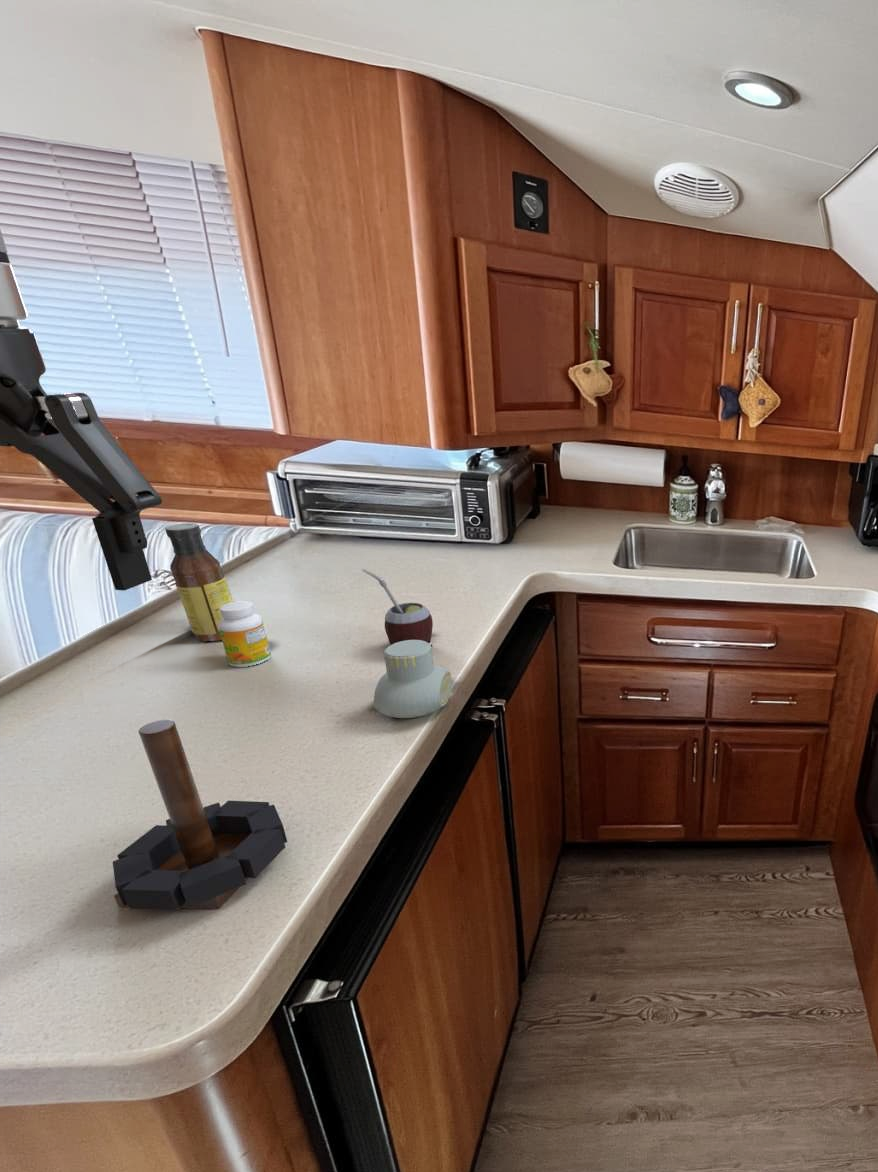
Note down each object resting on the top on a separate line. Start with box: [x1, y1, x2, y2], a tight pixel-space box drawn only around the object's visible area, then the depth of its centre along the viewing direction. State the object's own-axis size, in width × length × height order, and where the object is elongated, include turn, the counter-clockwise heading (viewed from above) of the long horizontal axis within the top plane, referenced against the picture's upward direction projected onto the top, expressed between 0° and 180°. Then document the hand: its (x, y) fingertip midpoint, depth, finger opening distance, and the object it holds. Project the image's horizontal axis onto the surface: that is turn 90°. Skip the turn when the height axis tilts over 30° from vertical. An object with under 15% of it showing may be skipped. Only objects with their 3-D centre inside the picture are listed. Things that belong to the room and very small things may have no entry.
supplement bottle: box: [218, 600, 272, 668], centre depth 101 cm, size 5×5×10 cm
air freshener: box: [373, 640, 452, 719], centre depth 93 cm, size 11×8×10 cm
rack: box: [113, 719, 250, 910], centre depth 61 cm, size 9×9×18 cm
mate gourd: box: [361, 568, 434, 645], centre depth 108 cm, size 8×8×15 cm
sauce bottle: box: [164, 522, 234, 643], centre depth 106 cm, size 6×6×20 cm
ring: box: [112, 800, 288, 911], centre depth 64 cm, size 12×12×2 cm
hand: (51, 579), depth 56 cm, fingers open, 13 cm apart
